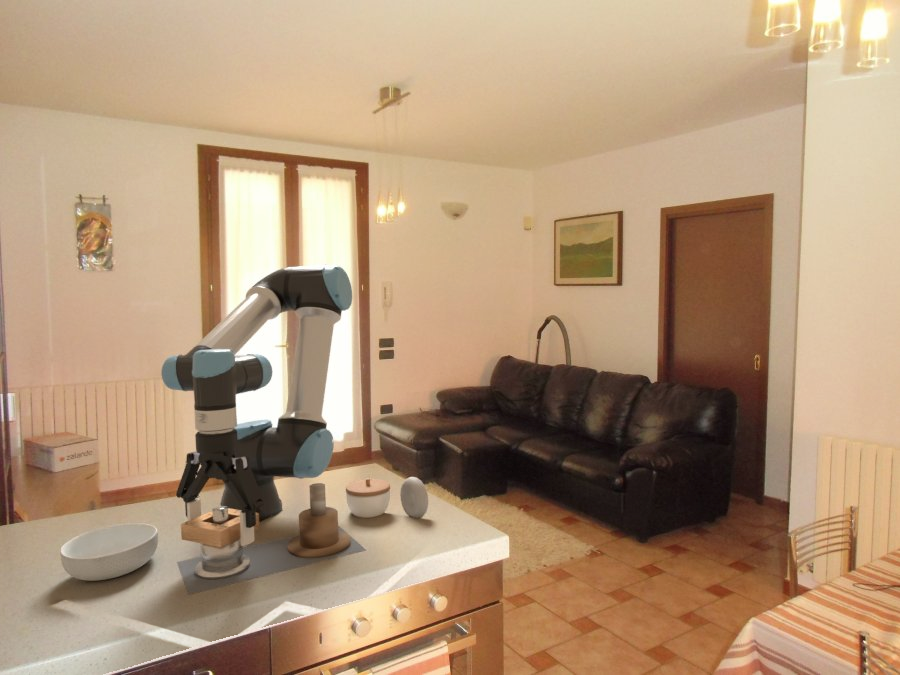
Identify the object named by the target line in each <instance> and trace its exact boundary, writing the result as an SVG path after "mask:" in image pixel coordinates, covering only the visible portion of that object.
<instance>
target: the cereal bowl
mask: <svg viewBox="0 0 900 675" xmlns="http://www.w3.org/2000/svg"><path fill="white" fill-rule="evenodd" d="M158 544H159V533H158V529H157V527H156V526H154V525H152V524H148V523H142V522H141V523H140V522H138V523H137V522H136V523H135V522H134V523H133V522H131V523H121V524H120V523H119V524H114V525H109V526H104V527H100V528H97V529H96V528H95V529H93V530H90V531H86V532H84V533H81V534H80V535H77V536H74V537H73V538H71V539H70V540H67V542H65V543H63V545H62V546H61V548H60V552H59V553H60V554H59V555H60V561H61V564H62V567H63V570H64V571H65V572H66V573H67V574H68V575H69V576H70V577H72V578H75V579H76V580H81V581H88V582H89V581H90V582H94V581H95V582H96V581H105V580H110V579H115V578H118V577H121V576H122V577H123V576H126V575H128V574H129V573H132V572H134V571H136V570H138V569H139V568H141V567H143V565H146V564H147V563H148V562H149V560H151V558H152V557H153V556H154V555H155V552H156V551H157V548H158Z"/></svg>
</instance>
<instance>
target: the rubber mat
mask: <svg viewBox="0 0 900 675" xmlns="http://www.w3.org/2000/svg"><path fill="white" fill-rule="evenodd" d="M338 530H339V531H343V532H345V533H347V534H348V535H349V536H350V539H351V543H350V545H349V547H348V548H347V549H345V550H344V551H342V552H340V553H337V554H334V555H331V556H327V557H321V558H302V557H297V556H294V555H292V554H290V553H289V552H288V542H289V541H290V540H291V539H292V538H294V537H295V536H297V535H298V534H297V535H292V536H287V537H283V538H278V539H273V540H269V541H265V542H261V543H257V544H252V545H246V546H243V554H245V555H247V556H248V557H249V558H250V566H249V567H248V568H247V569H246V570H245V571H244V572H242V573H240V574H238V575H235V576H232V577H228V578H224V579H216V580H208V579H202V578H199V577H197V576H196V574H195V567H196V565H197V564H198V563H199V562H201V556H198V557H193V558H189V559H185V560H181V561H177V562H176V563H177V566H178V568H179V571H180V574H181V578H182V580H183V583H184V586H185V588H186V592H187V594H188V595H194V594H197V593H201V592H205V591H210V590H213V589H217V588H221V587H225V586H229V585H233V584H236V583H242V582H245V581H250V580H252V579H258V578H262V577H266V576H269V575H273V574H276V573H277V574H278V573H280V572H285V571H289V570H293V569H297V568H301V567H305V566H309V565H312V564H313V565H314V564H317V563H320V562H325V561H329V560H332V559H336V558H341V557H345V556H349V555H352V554H357V553H361V552H365V551H367V549H366V548H365V547H364V546H363V545H362V544H360V543H359V541H357V540H356V539H354V538H353V537H352V536H351V534H349V533H348V532H347V531H345V530H344V529H343V528H342V527H341V526H340V525H338Z"/></svg>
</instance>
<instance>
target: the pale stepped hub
mask: <svg viewBox="0 0 900 675" xmlns="http://www.w3.org/2000/svg"><path fill="white" fill-rule="evenodd" d="M211 511H213V524H219V525H221V524H223V523H226V522H228V521H229V520H228V507H227V506H221V505H219V506H218V505H217V506H215V507H213V508H212V509H211ZM243 547H244V546H241V538H239V539H237V540H235V541H233V542H231V543H229V544H227V545H225V546H223V547H217V546H212V545H207V544H202V543H200V557H201V562H199V563H198V564H197V565H196V567H195V574H196V576H197V577H199V578H202V579H208V580H216V579H224V578H228V577H232V576H235V575H238V574H240V573H242V572H244V571H245V570H246V569H247V568H248V567H249V566H250V558H249V557H248V556H247V555H245V554H243Z"/></svg>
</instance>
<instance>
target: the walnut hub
mask: <svg viewBox="0 0 900 675" xmlns="http://www.w3.org/2000/svg"><path fill="white" fill-rule="evenodd" d="M308 487H309V508H307V509H305V510H302V511H301V512H300V513H299V514H298V528H299V530H298V531H299V534H297V536H296V535H294V536H295V537H294V538H292V539H291V540H290V541H289V542H288V552H289V553H290V554H292V555H294V556H297V557H302V558H321V557H327V556H331V555H334V554H337V553H340V552H342V551H344V550H345V549H347V548H348V547H349V545H350V543H351V539H350V536H351V535H350V534H349V533H348V532H347V533H348V534H349V535H350V536H349V535H348V534H347V533H345V532H346V531H345V532H343V531H339V530H338V526H339V515H338V514H339V513H338V510H337V509H336V508H334V507H331V506H326V505H327V502H326V500H327V499H326V483H322V482H317V483H312V484H310V485H309V486H308Z"/></svg>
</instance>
